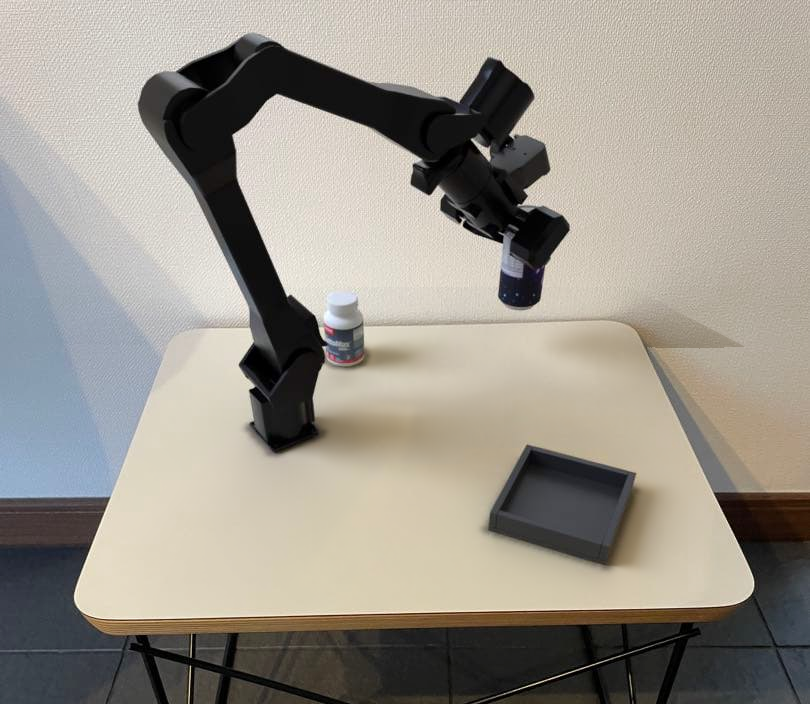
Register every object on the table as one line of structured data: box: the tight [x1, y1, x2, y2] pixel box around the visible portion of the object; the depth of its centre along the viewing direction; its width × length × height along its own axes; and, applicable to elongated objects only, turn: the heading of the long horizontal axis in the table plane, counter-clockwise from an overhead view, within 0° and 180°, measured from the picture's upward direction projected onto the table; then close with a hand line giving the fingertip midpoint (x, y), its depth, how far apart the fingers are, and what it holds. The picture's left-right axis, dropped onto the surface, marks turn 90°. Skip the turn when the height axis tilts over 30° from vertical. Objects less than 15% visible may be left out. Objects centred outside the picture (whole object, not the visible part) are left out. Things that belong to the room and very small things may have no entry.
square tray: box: [487, 444, 637, 566], centre depth 83 cm, size 13×13×3 cm
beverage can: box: [497, 204, 546, 312], centre depth 98 cm, size 6×6×12 cm
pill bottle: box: [323, 290, 365, 367], centre depth 102 cm, size 5×5×9 cm
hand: (532, 253), depth 98 cm, fingers closed on beverage can, 5 cm apart
